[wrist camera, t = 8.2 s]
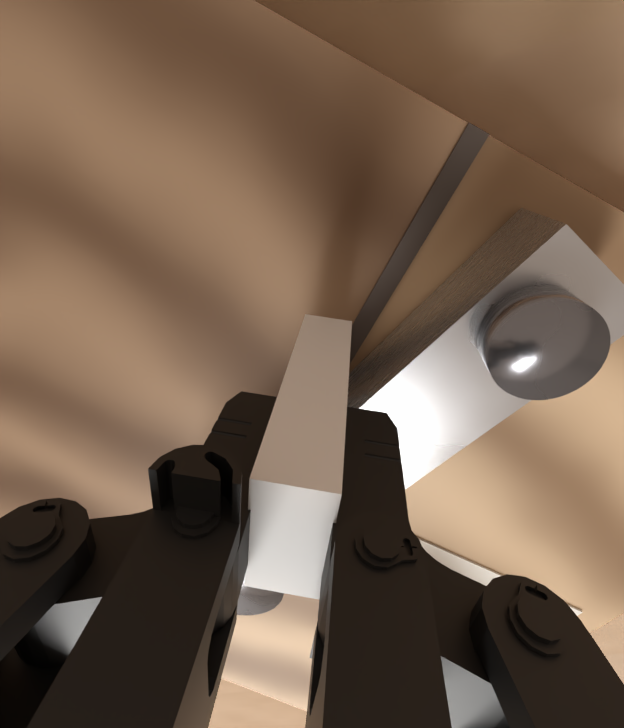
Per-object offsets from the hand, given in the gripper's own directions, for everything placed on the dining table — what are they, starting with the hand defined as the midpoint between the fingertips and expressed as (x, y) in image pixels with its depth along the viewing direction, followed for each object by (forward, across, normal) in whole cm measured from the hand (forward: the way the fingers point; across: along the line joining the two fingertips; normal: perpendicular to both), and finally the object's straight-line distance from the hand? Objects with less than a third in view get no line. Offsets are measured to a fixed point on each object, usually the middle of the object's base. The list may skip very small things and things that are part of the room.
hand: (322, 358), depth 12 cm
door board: (+3, 0, -9) cm, 10 cm away
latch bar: (+1, +1, -3) cm, 4 cm away
